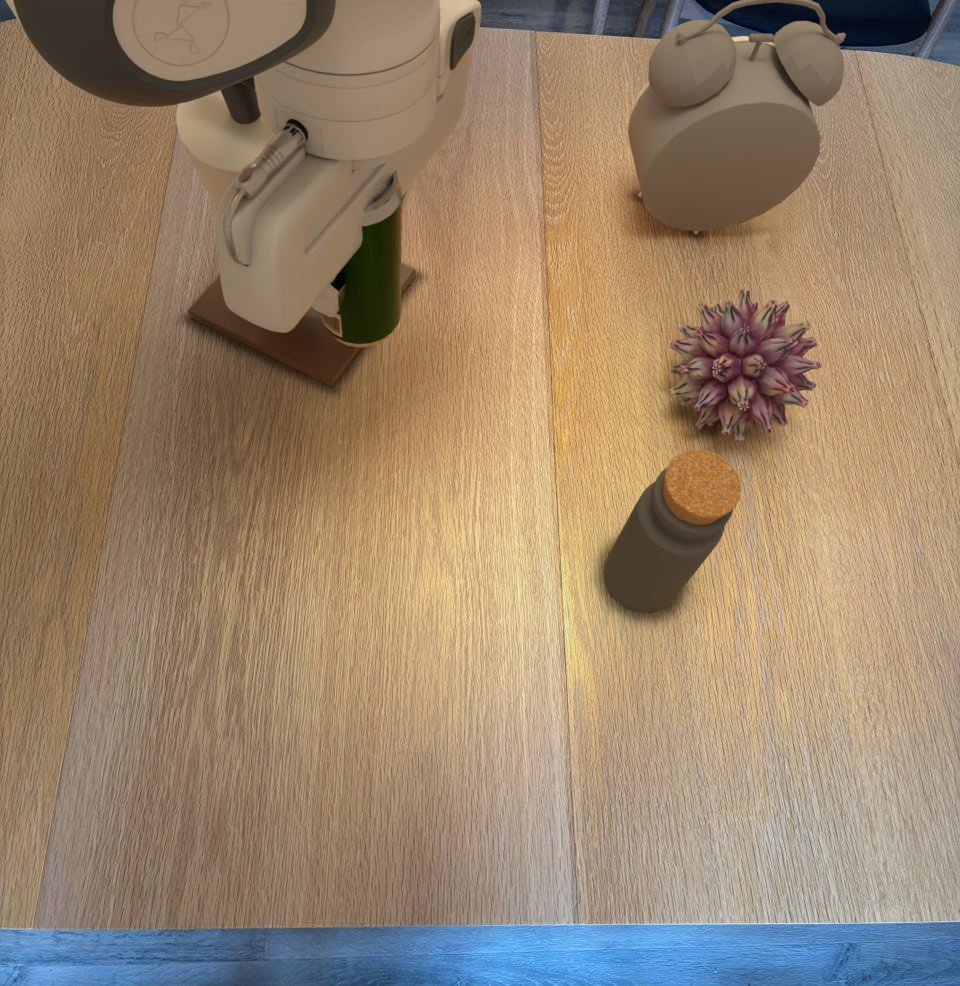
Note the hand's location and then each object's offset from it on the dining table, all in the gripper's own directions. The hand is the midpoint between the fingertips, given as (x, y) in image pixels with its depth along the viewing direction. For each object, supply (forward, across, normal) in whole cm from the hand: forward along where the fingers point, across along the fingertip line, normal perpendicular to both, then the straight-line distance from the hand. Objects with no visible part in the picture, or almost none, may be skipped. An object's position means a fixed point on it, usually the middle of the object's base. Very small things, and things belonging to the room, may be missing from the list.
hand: (357, 270), depth 54 cm
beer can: (+5, 0, 0) cm, 5 cm away
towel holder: (+3, +2, +11) cm, 12 cm away
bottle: (+18, -1, -25) cm, 31 cm away
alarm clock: (+18, +37, -15) cm, 43 cm away
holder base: (+18, +9, +11) cm, 23 cm away
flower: (+18, +17, -25) cm, 35 cm away
